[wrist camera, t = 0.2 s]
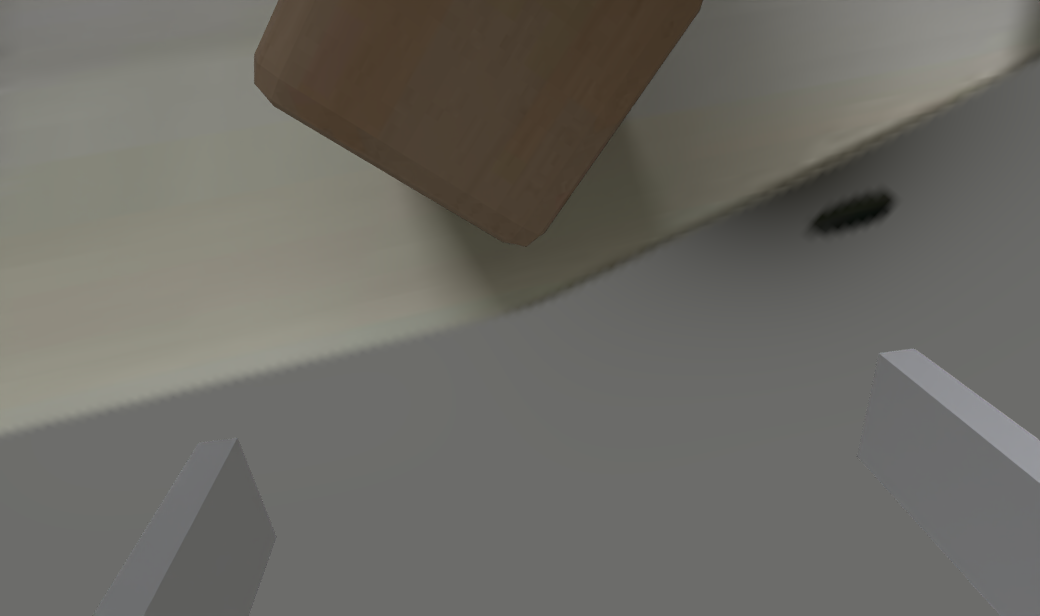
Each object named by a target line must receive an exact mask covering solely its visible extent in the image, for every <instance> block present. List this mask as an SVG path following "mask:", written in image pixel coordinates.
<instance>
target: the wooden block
mask: <svg viewBox="0 0 1040 616" xmlns="http://www.w3.org/2000/svg"><path fill="white" fill-rule="evenodd" d="M702 1H703V0H278V3H277V5H276V7H275V9H274V12H273V14H272V16H271V18H270V21H269V23H268V25H267V27H266V30H265V32H264V34H263V36H262V39H261V41H260V43H259V45H258V48H257V50H256V52H255V54H254V84H255V85H256V86H257V87H258V88H259V89H260V90H261V92H262V93H263V94H264V95H265V96H266V97H267V99H268V100H269V101H270V102H271V103H272V105H273V106H275V107H276V108H278V109H280V110H281V111H283V112H285V113H286V114H288V115H290V116H291V117H293V118H295V119H296V120H298V121H300V122H301V123H303V124H305V125H306V126H308V127H310V128H312V129H313V130H315V131H317V132H318V133H320V134H322V135H323V136H325V137H327V138H328V139H330V140H332V141H333V142H335V143H337V144H338V145H340V146H342V147H344V148H345V149H347V150H349V151H350V152H352V153H354V154H355V155H357V156H359V157H360V158H362V159H364V160H365V161H367V162H369V163H370V164H372V165H374V166H376V167H377V168H379V169H381V170H382V171H384V172H386V173H387V174H389V175H391V176H392V177H394V178H396V179H397V180H399V181H401V182H402V183H404V184H406V185H407V186H409V187H411V188H413V189H414V190H416V191H418V192H419V193H421V194H423V195H424V196H426V197H428V198H429V199H431V200H433V201H434V202H436V203H438V204H439V205H441V206H443V207H445V208H446V209H448V210H450V211H451V212H453V213H455V214H456V215H458V216H460V217H461V218H463V219H465V220H466V221H468V222H470V223H471V224H473V225H475V226H477V227H478V228H480V229H482V230H483V231H485V232H487V233H488V234H490V235H492V236H493V237H495V238H497V239H498V240H500V241H502V242H504V243H511V244H517V245H521V246H525V247H526V246H528V245H529V244H530V243H531V242H533V241H534V240H535V239H536V238H538V237H539V236H541V235H542V234H544V233H545V232H546V230H547V229H548V227H549V226H550V224H551V223H552V222H553V220H554V219H555V217H556V216H557V214H558V213H559V212H560V210H561V209H562V207H563V206H564V204H565V203H566V201H567V200H568V199H569V197H570V196H571V194H572V193H573V191H574V190H575V189H576V187H577V186H578V184H579V183H580V181H581V180H582V179H583V177H584V176H585V174H586V173H587V171H588V170H589V168H590V167H591V166H592V164H593V163H594V161H595V160H596V158H597V157H598V156H599V154H600V153H601V151H602V150H603V148H604V147H605V146H606V144H607V143H608V141H609V140H610V138H611V137H612V135H613V134H614V133H615V131H616V130H617V128H618V127H619V125H620V124H621V123H622V121H623V120H624V118H625V117H626V115H627V114H628V113H629V111H630V110H631V108H632V107H633V105H634V104H635V102H636V101H637V100H638V98H639V97H640V95H641V94H642V92H643V91H644V90H645V88H646V87H647V85H648V84H649V82H650V81H651V80H652V78H653V77H654V75H655V74H656V72H657V71H658V69H659V68H660V67H661V65H662V64H663V62H664V61H665V59H666V58H667V57H668V55H669V54H670V52H671V51H672V49H673V48H674V47H675V45H676V44H677V42H678V41H679V39H680V38H681V36H682V35H683V34H684V32H685V31H686V29H687V28H688V26H689V25H690V24H691V22H692V21H693V19H694V18H695V16H696V15H697V14H698V12H699V11H700V8H701V5H702Z"/></svg>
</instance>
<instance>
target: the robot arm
mask: <svg viewBox="0 0 1040 616" xmlns="http://www.w3.org/2000/svg"><path fill="white" fill-rule="evenodd" d="M857 457H858V458H859V459H860V460H861V461H862V463H863V464H864V465H865V466H866V467H867V468H868V469H869V470H870V471H871V473H872V474H873V475H874V476H875V477H876V478H877V479H878V480H879V481H880V483H881V484H882V485H883V486H884V487H885V488H886V489H887V490H888V491H889V492H890V494H891V495H892V496H893V497H894V498H895V499H896V500H897V501H898V503H899V504H900V505H901V506H902V507H903V508H904V509H905V510H906V511H907V513H908V514H909V515H910V516H911V517H912V518H913V519H914V520H915V521H916V523H917V524H918V525H919V526H920V527H921V528H922V529H923V530H924V532H925V533H926V534H927V535H928V536H929V537H930V538H931V539H932V540H933V542H934V543H935V544H936V545H937V546H938V547H939V548H940V549H941V550H942V552H943V553H944V554H945V555H946V556H947V557H948V558H949V559H950V560H951V562H953V564H954V565H955V566H956V567H957V568H958V569H959V571H960V572H961V573H962V574H963V575H964V576H965V577H966V578H967V579H968V581H969V582H970V583H971V584H972V585H973V586H974V587H975V588H976V589H977V591H978V592H979V593H980V594H981V595H982V596H983V597H984V598H985V599H986V600H987V602H988V603H989V604H990V605H991V606H992V607H993V608H994V609H995V610H996V612H997V613H998V614H999V615H1000V616H1040V440H1038V439H1037V438H1036V437H1034V436H1033V435H1032V434H1030V433H1029V432H1028V431H1026V430H1025V429H1024V428H1022V427H1021V426H1020V425H1018V424H1017V423H1016V422H1014V421H1013V420H1011V419H1010V418H1009V417H1007V416H1006V415H1005V414H1003V413H1002V412H1000V411H999V410H998V409H996V408H995V407H994V406H992V405H991V404H990V403H988V402H987V401H986V400H984V399H983V398H981V397H980V396H978V395H977V394H976V393H975V392H973V391H972V390H971V389H969V388H968V387H966V386H965V385H963V384H962V383H961V382H960V381H958V380H957V379H956V378H954V377H953V376H951V375H950V374H949V373H947V372H946V371H944V370H943V369H942V368H941V367H939V366H938V365H936V364H935V363H934V362H932V361H931V360H930V359H928V358H927V357H926V356H924V355H923V354H922V353H920V352H919V351H917V350H916V349H915V348H914V349H907V350H900V351H891V352H884V353H879V355H878V360H877V364H876V369H875V374H874V379H873V384H872V388H871V393H870V397H869V402H868V407H867V412H866V416H865V421H864V426H863V431H862V435H861V440H860V445H859V450H858V455H857ZM275 540H276V534H275V531H274V529H273V527H272V524H271V521H270V519H269V516H268V514H267V511H266V509H265V506H264V504H263V501H262V499H261V496H260V493H259V491H258V488H257V486H256V483H255V481H254V479H253V476H252V473H251V470H250V468H249V465H248V463H247V460H246V458H245V455H244V453H243V450H242V448H241V445H240V442H239V440H238V438H230V439H223V440H216V441H208V442H200V443H198V444H197V446H196V448H195V449H194V451H193V452H192V454H191V456H190V457H189V459H188V461H187V463H186V464H185V466H184V467H183V469H182V471H181V472H180V474H179V476H178V477H177V479H176V480H175V482H174V484H173V485H172V487H171V488H170V490H169V492H168V493H167V495H166V497H165V498H164V500H163V501H162V503H161V505H160V506H159V508H158V510H157V511H156V513H155V514H154V516H153V518H152V520H151V521H150V523H149V524H148V526H147V528H146V529H145V531H144V533H143V534H142V536H141V537H140V539H139V541H138V542H137V544H136V546H135V547H134V549H133V550H132V552H131V554H130V555H129V557H128V558H127V560H126V562H125V563H124V565H123V567H122V568H121V570H120V572H119V573H118V575H117V576H116V578H115V580H114V581H113V583H112V585H111V586H110V588H109V589H108V591H107V593H106V594H105V596H104V598H103V599H102V601H101V602H100V604H99V606H98V608H97V609H96V611H95V612H94V614H93V615H92V616H249V613H250V610H251V608H252V605H253V602H254V599H255V596H256V594H257V591H258V588H259V585H260V582H261V579H262V576H263V574H264V571H265V568H266V565H267V562H268V560H269V556H270V554H271V551H272V548H273V545H274V543H275Z"/></svg>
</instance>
